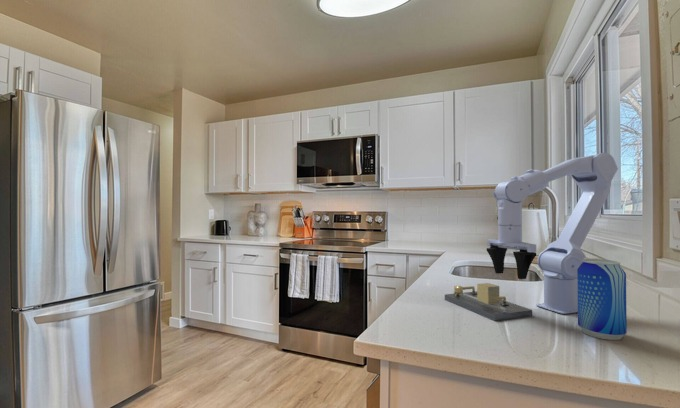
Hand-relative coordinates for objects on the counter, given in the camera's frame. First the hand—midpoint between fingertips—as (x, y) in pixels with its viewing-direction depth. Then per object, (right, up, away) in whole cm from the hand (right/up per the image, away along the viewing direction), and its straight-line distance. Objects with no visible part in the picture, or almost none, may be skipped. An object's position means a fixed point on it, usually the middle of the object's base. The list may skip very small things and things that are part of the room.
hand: (510, 275), depth 89 cm
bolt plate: (-5, -9, +3) cm, 11 cm away
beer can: (+12, -9, -16) cm, 22 cm away
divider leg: (-5, -7, -1) cm, 9 cm away
